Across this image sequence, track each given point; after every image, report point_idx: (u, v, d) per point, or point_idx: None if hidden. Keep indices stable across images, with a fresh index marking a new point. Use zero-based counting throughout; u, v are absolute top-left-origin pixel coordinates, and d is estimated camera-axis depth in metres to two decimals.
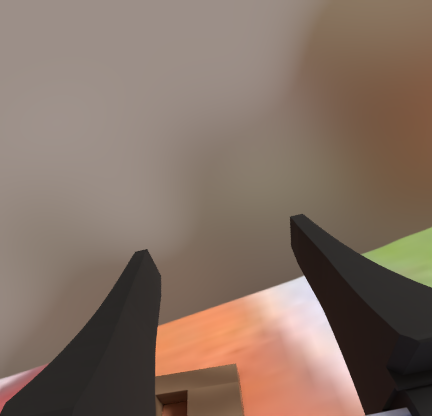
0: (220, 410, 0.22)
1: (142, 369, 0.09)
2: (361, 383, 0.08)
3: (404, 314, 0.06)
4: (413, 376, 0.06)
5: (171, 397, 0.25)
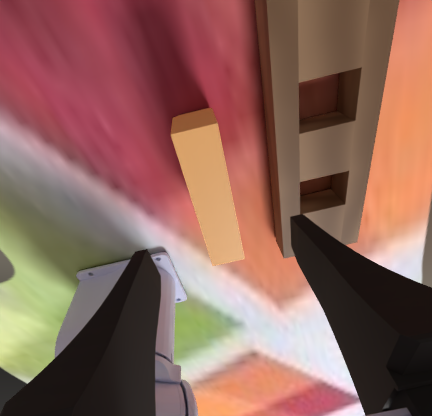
0: None
1: (142, 369, 0.09)
2: (361, 383, 0.08)
3: (404, 313, 0.06)
4: (413, 376, 0.06)
5: (340, 177, 0.21)
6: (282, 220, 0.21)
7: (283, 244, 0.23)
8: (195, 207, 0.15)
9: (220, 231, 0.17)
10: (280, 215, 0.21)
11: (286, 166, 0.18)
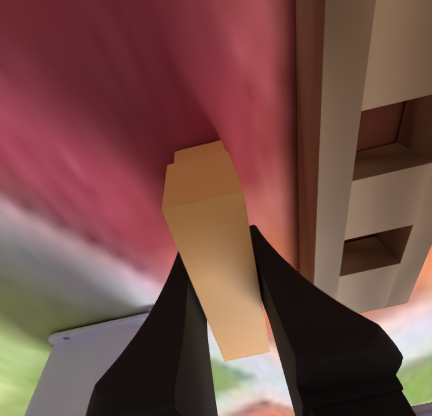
0: (361, 298, 0.17)
1: (203, 356, 0.09)
2: (292, 397, 0.08)
3: (309, 333, 0.06)
4: (319, 395, 0.06)
5: None
6: (315, 283, 0.16)
7: None
8: (202, 301, 0.10)
9: (237, 326, 0.11)
10: (312, 277, 0.16)
11: (328, 222, 0.13)
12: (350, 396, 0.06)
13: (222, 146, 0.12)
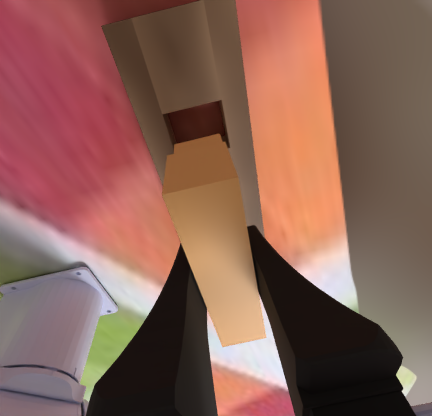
0: None
1: (203, 356, 0.09)
2: (292, 397, 0.08)
3: (309, 334, 0.06)
4: (319, 395, 0.06)
5: None
6: None
7: None
8: (200, 285, 0.10)
9: (234, 310, 0.12)
10: None
11: None
12: (350, 396, 0.06)
13: (220, 139, 0.12)
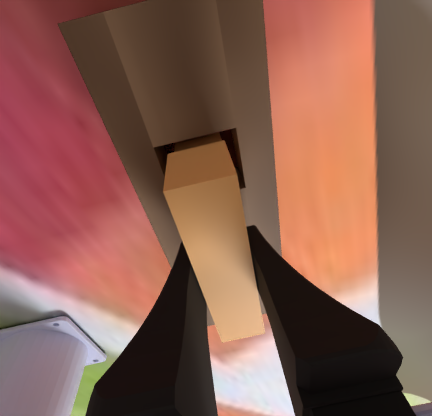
0: None
1: (203, 356, 0.09)
2: (292, 397, 0.08)
3: (309, 333, 0.06)
4: (319, 395, 0.06)
5: None
6: None
7: None
8: (200, 281, 0.11)
9: (234, 306, 0.12)
10: None
11: (169, 239, 0.14)
12: (350, 396, 0.06)
13: (219, 138, 0.13)
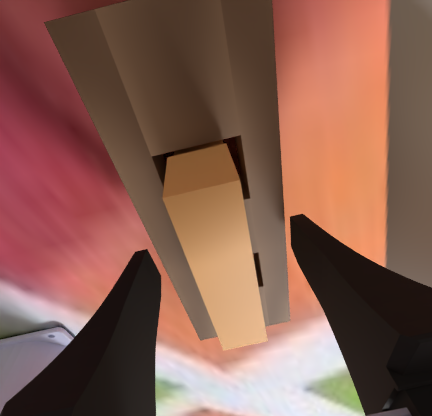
0: None
1: (142, 369, 0.09)
2: (361, 383, 0.08)
3: (404, 314, 0.06)
4: (413, 376, 0.06)
5: (256, 252, 0.16)
6: (184, 305, 0.17)
7: (195, 327, 0.18)
8: (201, 289, 0.10)
9: (236, 314, 0.12)
10: None
11: (168, 251, 0.14)
12: None
13: (221, 140, 0.12)
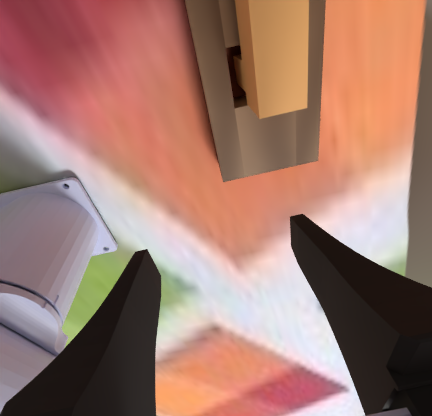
0: (267, 148, 0.17)
1: (142, 369, 0.09)
2: (361, 383, 0.08)
3: (404, 314, 0.06)
4: (413, 376, 0.06)
5: None
6: (211, 117, 0.16)
7: (219, 159, 0.17)
8: None
9: (279, 40, 0.11)
10: (208, 110, 0.16)
11: (201, 16, 0.13)
12: None
13: None
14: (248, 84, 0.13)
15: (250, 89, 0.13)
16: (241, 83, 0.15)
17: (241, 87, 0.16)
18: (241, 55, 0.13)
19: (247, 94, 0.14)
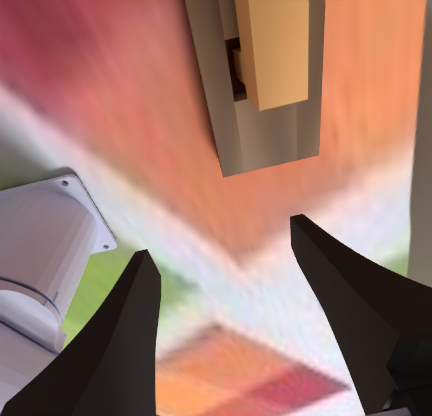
0: (267, 142, 0.17)
1: (142, 369, 0.09)
2: (361, 383, 0.08)
3: (404, 313, 0.06)
4: (413, 376, 0.06)
5: None
6: (210, 111, 0.15)
7: (219, 154, 0.17)
8: None
9: (279, 30, 0.10)
10: (207, 103, 0.15)
11: (199, 7, 0.13)
12: None
13: None
14: (248, 76, 0.13)
15: (250, 81, 0.13)
16: (241, 76, 0.15)
17: (241, 80, 0.15)
18: (240, 47, 0.13)
19: (247, 87, 0.14)
